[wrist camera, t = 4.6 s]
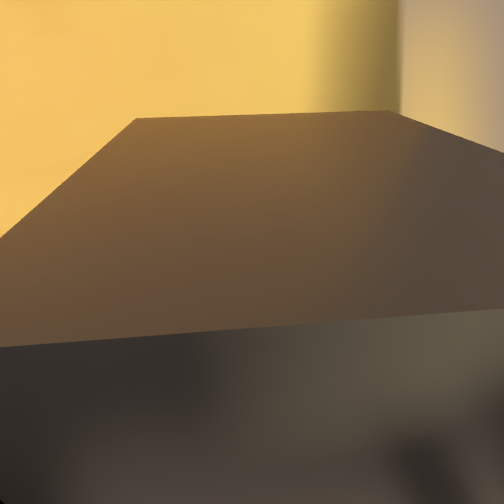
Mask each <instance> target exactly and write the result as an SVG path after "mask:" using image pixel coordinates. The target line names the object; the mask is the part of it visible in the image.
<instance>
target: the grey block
mask: <svg viewBox="0 0 504 504" xmlns="http://www.w3.org/2000/svg"><path fill="white" fill-rule="evenodd" d="M0 500H1V501H2V502H3V503H4V504H504V153H502V152H500V151H497V150H494V149H491V148H489V147H486V146H483V145H481V144H478V143H475V142H472V141H469V140H467V139H464V138H462V137H459V136H456V135H453V134H451V133H448V132H445V131H442V130H440V129H437V128H434V127H432V126H429V125H426V124H424V123H421V122H418V121H415V120H413V119H410V118H407V117H404V116H402V115H399V114H397V113H394V112H391V111H357V112H325V113H292V114H260V115H228V116H195V117H163V118H136V119H135V120H133V121H132V122H131V123H130V124H129V125H128V126H127V127H125V128H124V129H123V130H122V131H121V132H120V133H119V134H118V135H116V136H115V137H114V138H113V139H112V140H111V141H110V142H109V143H107V144H106V145H105V146H104V147H103V148H102V149H101V150H99V151H98V152H97V153H96V154H95V155H94V156H93V157H92V158H90V159H89V160H88V161H87V162H86V163H85V164H84V165H82V166H81V167H80V168H79V169H78V170H77V171H76V172H75V173H73V174H72V175H71V176H70V177H69V178H68V179H67V180H66V181H64V182H63V183H62V184H61V185H60V186H59V187H58V188H56V189H55V190H54V191H53V192H52V193H51V194H50V195H49V196H47V197H46V198H45V199H44V200H43V201H42V202H41V203H39V204H38V205H37V206H36V207H35V208H34V209H33V210H32V211H30V212H29V213H28V214H27V215H26V216H25V217H24V218H22V219H21V220H20V221H19V222H18V223H17V224H16V225H15V226H13V227H12V228H11V229H10V230H9V231H8V232H7V233H6V234H4V235H3V236H2V237H1V238H0Z"/></svg>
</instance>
